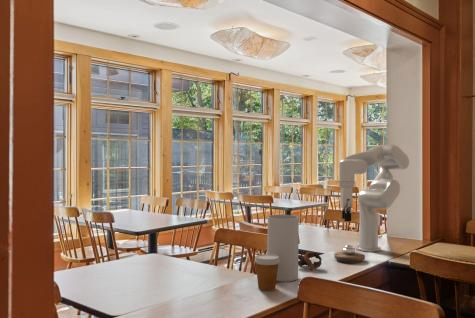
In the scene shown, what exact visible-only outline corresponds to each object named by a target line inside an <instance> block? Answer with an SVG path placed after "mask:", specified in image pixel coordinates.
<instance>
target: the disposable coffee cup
mask: <svg viewBox="0 0 475 318" xmlns="http://www.w3.org/2000/svg"><path fill="white" fill-rule="evenodd" d="M253 260H254V262H255V269H256V270H255V271H256V277H257V278H256V279H257V286H258V290H260V291H264V292H271V291H275V290H276V285H277V281H276V279H277V272H278V264H279V261H280V260H279V257H278V256H277V255H272V254H267V253H262V254H257V255H255V258H254V259H253Z"/></svg>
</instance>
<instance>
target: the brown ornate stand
mask: <svg viewBox="0 0 475 318" xmlns="http://www.w3.org/2000/svg"><path fill="white" fill-rule="evenodd" d="M313 256H314V258H316V259H318V261H313V262H312V259H310V258H312V257H313ZM303 266H308V271H309V272H312V271H314V270H315V269H319V268H320V267H321V266H322V257H321V256H320V255H319V254H318V253H317V252H313V251H308V252H305V254H303V255H301V254H298V268H302V267H303Z"/></svg>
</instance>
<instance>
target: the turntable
mask: <svg viewBox="0 0 475 318" xmlns="http://www.w3.org/2000/svg"><path fill="white" fill-rule="evenodd" d="M334 258H335V259H336V260H337V261H338V262H341V263H346V264H358V263H361V262H362V261H365V259H366V254H364V253H360V252H357V251H355V254H354V255H345V254H342V251H339V252H338V251H337V252H335V253H334Z"/></svg>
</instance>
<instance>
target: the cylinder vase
mask: <svg viewBox="0 0 475 318" xmlns="http://www.w3.org/2000/svg"><path fill="white" fill-rule="evenodd" d="M299 220H300V218H299V216H298V215H292V214H271V215H268V216H267V241H266V242H267V247H266V248H267V253H266V254H272V255H277V256H278V257H279V260H280V261H279V264H278V272H277V279H276V283H277V282H278V283H290V281H291V282H294V280H295V281H296V280H298V279H299V265H298V261H299V259H298V255H299V241H300V240H299V239H300V236H299V234H300V233H299V232H300V231H299V229H300V228H299V224H300V223H299Z"/></svg>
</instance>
